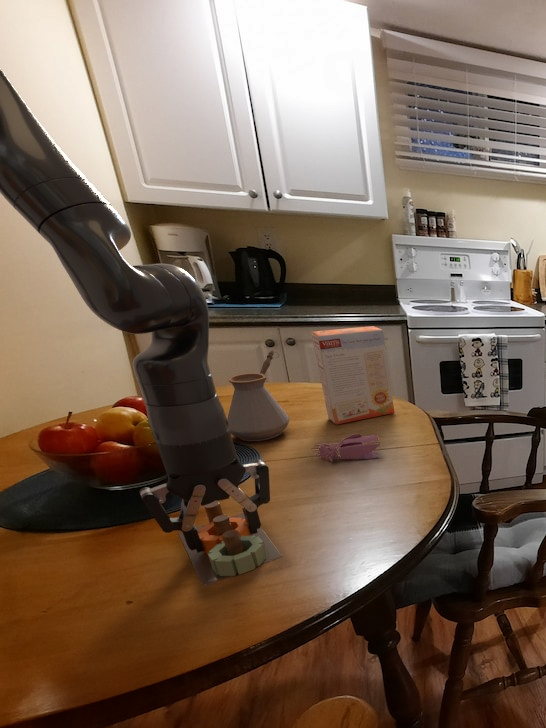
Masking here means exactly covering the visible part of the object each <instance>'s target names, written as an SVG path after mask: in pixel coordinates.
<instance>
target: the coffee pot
mask: <svg viewBox="0 0 546 728" xmlns="http://www.w3.org/2000/svg"><path fill="white" fill-rule="evenodd" d="M274 353H275V354H277V355H278V356H276V357H275V356H274ZM278 358H280V353H278V352H277V351H274V350H270V351H269V352H267V355H266V359H265V360H264V361H263V363H262V366H261V369H260V371H259V373H241V374H236V375H232V376H231V377H228V378H227V379H228V382H229V383H230V384H232V387H233V388H234V390H233V394H232V398H231V402H230V406H229V410H228V414H227V417H226V418H227V419H228V422H229V429H230V433H231V436H234V437H236V438H239V439H240V440H242V441H245V442H261V441H266V440H267V441H268V440H272V439H274V438H276V437H279V436H280V435H282V433H283V431H284V430H285V429H287V427H288V426H289V423H290V417H289V415H288V414H287V412H285V410H284V408H283V407H282V406H281V405H280V404H279V402H278V401H277V400H276V398H274V396H273V395H272V394H271V392H270V391H269V390H268V389H267V388H266V387H265V382H266V381H267V376H266V373H267V372H268V369H269V367H270V366H271V361H272V360H274V359H278Z"/></svg>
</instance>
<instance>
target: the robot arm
mask: <svg viewBox="0 0 546 728" xmlns="http://www.w3.org/2000/svg"><path fill="white" fill-rule="evenodd" d="M0 194H1V195H2V197H3V198H4V199H5V200H6V201H7V202H8V203H9V205H11V206H12V207H13V208H14V210H16V211H17V213H19V215H21V216H22V218H23V219H24V220H25V221H26V222H27V223H29V225H31V227H32V228H33V229H34V230H35V231H36V232H37V233H38V234H39V235H40V236H41V237H42V238H43V239H44V240H45V241H46V242H47V243H48V244H49V245H50V246H51V247H52V249H53V251H54V252H55V254H56V256H57V258H58V260H59V261H60V263H61V265H62V267H63V268H64V270H65V271H66V273H67V275H68V276H69V278H70V280H71V281H72V283H73V285H74V287H75V288H76V290H77V292H78V293H79V295H80V297H81V299H82V300H83V302H84V303H85V305H86V306H87V307H88V308H89V309H90V311H91V312H92V313H93V314H94V315H95V316H96V317H97V318H99V319H100V320H101V321H103V322H104V323H106V324H107V325H109V326H111V327H112V328H114V329H117V330H118V331H121V332H124V333H127V334H132V335H145V334H151V342H150V344H149V345H148V347H146V348H145V349H143V350H142V351H141V352H140V353H138V354H137V355H136V356H135V357H134V358H133V360H132V368H133V369H132V370H133V373H134V377H135V378H136V381H137V384H138V388H139V390H140V392H141V395H142V399H143V401H144V406H145V410H146V416H147V421H148V424H149V427H150V430H151V435H152V437H153V439H154V441H155V444H156V447H157V450H158V452H159V455H160V456H159V457H160V458H161V461H162V464H163V467H164V470H165V473H166V478H165V481H164V483H163V484H160V485H156V486H154V487H152V488H150V487H146V486H145V487H142V488H141V489H140V490H139V495H140V498H141V500H142V502H143V503H144V505H145V507H146V508H147V510H148V512H150V514H151V516H152V517H153V518H154V520H155V521H156V523H157V524H158V526H159V527H160V528H161V531H162V532H164V533H166V534H168V533H172V532H175V531H178V532H183V535H184V538H185V540H186V543H187V545H188V548H189V549H190V550H195V549H196V551H197V553H199V552H202V551H204V549H203V546H202V543H201V541H200V538H199V535H198V532H197V529H196V527H197V526H196V525H195V522H196V519H197V516H199V512H200V509H201V507H204V506H205V505H207V504H210V503H212V502H214V501H217V502H220V501H224V500H228V499H230V498H232V499H233V500H234V501H235V502H236V503H238V504H239V505H240V506H242V513H244V516H245V520H246V521H247V523H248V524H249V528H250V531H251V534H252V535H253V534H256V533H258V532H257V529H259V528H260V527H261V528H262V524H261V518H260V515H259V511H258V509H259V508H260V506H262V505H267V504H268V503H270V501H271V489H270V486H271V485H270V467H269V466H268V465H267V464H266V463H265V462H264V461H263V460H262V459H257V460H255V461H254V462H253V463H244V464H243V463H242V462H241V461H240V460H239V459H238V458H239V457H238V455H237V451H236V448H235V444H234V441H233V437H232V434H231V433H230V429H229V422H228V419H227V418H228V417H227V416H226V415H227V414H226V412H225V409H224V407H223V404H222V403H221V400H220V398H219V396H218V395H219V394H218V393H217V389H216V385H215V381H214V378H213V374H212V371H211V369H210V365H209V362H208V361H209V348H210V313H209V305H208V302H207V301H208V300H207V298H206V296H205V293H204V291H203V289H202V287H201V286H200V285H199V283H198V281H197V280H196V279H195V278H194V277H193V276H192V275H191V274H190V273H189V272H187V271H186V270H185V269H183V268H181V267H179V266H176V265H174V264H170V263H150V264H149V263H148V264H138V265H131V264H130V263H128V261H127V260H126V259H125V258H124V257H123V255H122V254H121V252H120V251H121V250H122V249H123V248H125V247H126V246H127V245H128V244H129V243H130V240H131V237H132V233H131V230H130V227H129V225H128V223H127V222H126V220H125V219H124V217H122V216H121V214H120V213H119V212H118V211H117V210H116V209H115V208H114V207H113V206H112V204H111V203H110V202H109V201H108V199H106V198H105V197H104V195H102V193H101V192H100V191H99V190H98V189H97V187H95V186H94V184H93V183H92V182H91V181H90V180H89V179H88V178H87V177H86V176H85V174H84V173H82V171H81V170H80V169H79V168H78V167H77V166H76V165H75V164H74V162H72V160H71V159H70V158H69V157H68V156H67V155H66V153H65V152H64V151H63V150H62V149H61V147H60V146H59V145H58V144H57V142H55V140H54V139H53V138H52V137H51V136H50V134H49V133H48V131H47V130H46V129H45V128H44V126H43V125H42V124H41V123H40V121H39V120H38V118H37V117H36V116H35V115H34V113H33V112H32V110H31V109H30V107H29V106H28V105H27V103H26V102H25V101H24V99H23V98H22V96H21V95H20V93H19V92H18V91H17V89H16V88H15V86H14V85H13V84H12V82H11V81H10V79H9V78H8V77H7V75H6V74H5V72H4V70H2V68H1V67H0ZM245 474H248V475H249V476H250V478H252V479H253V480H254V494H253V495H252V496H249V495H247V494H246V493H245V492H244V490H242V488H241V487H239V485H240V484H241V482H242V480H243V478H244V476H245ZM168 493H170V494H173V495H175V496H177V497H179V498H181V502H180V511H179V514H178V517H171V516H170V515H169V513H168V512H167V511H166V509H165V508H164V506H163V505H164V504H165V503H166V501H167V497H166V496H167V494H168ZM162 504H163V505H162Z"/></svg>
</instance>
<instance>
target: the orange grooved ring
mask: <svg viewBox="0 0 546 728" xmlns="http://www.w3.org/2000/svg"><path fill="white" fill-rule="evenodd" d="M229 519H230V523H231V526H232V529H233V530H237V531H238V532H239V535H240V536H252V534H251V531H250V528H249V524H248V523H247V521H246V520H245V519H243V518H229ZM209 523H210V522H209ZM209 523H206V524H204V525H205V526H204V527H203V528H201V529H200V530H199V531H197V532H198V535H199V538H200V541H201V543H202V546H203V549H204V551H203V553H206V554H207V555H208V554H209V551H210V550H211V549H212V548H214V547H215V546H216V545H217V544H222V543H221V542H222V541H223V538H222V535H221V536H218V535H217V532H216V529H215V526H214V523H213V522H211V523H210V524H209Z"/></svg>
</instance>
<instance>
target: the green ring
mask: <svg viewBox="0 0 546 728" xmlns="http://www.w3.org/2000/svg"><path fill="white" fill-rule="evenodd" d="M240 538H241V542H242V545H243V548H244V551H245V552H243V553H240V554H237V555H234V556H228V553H227V550H226V547H225V544H224V541H222V542H221V543H222V544H217V545H216V546H215V547H214V548H212V549H211V550H210V551H209V554H208V557H209V560H210V562H211V565H212V568H213V570H214V572H215V573H216V575H220V576H230V577H236V575H238V576H241V575H243V574H246V573H248V572H250V571H253V570H256V567H255V566H257V567H260V566H262V565H261V563H262V562H263V561H264V560H265V559H266V556H267V555H266V551H265V547H264V544H263V541H262V540H261V539H260V538H259V537H256V536H240ZM237 573H238V574H237Z"/></svg>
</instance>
